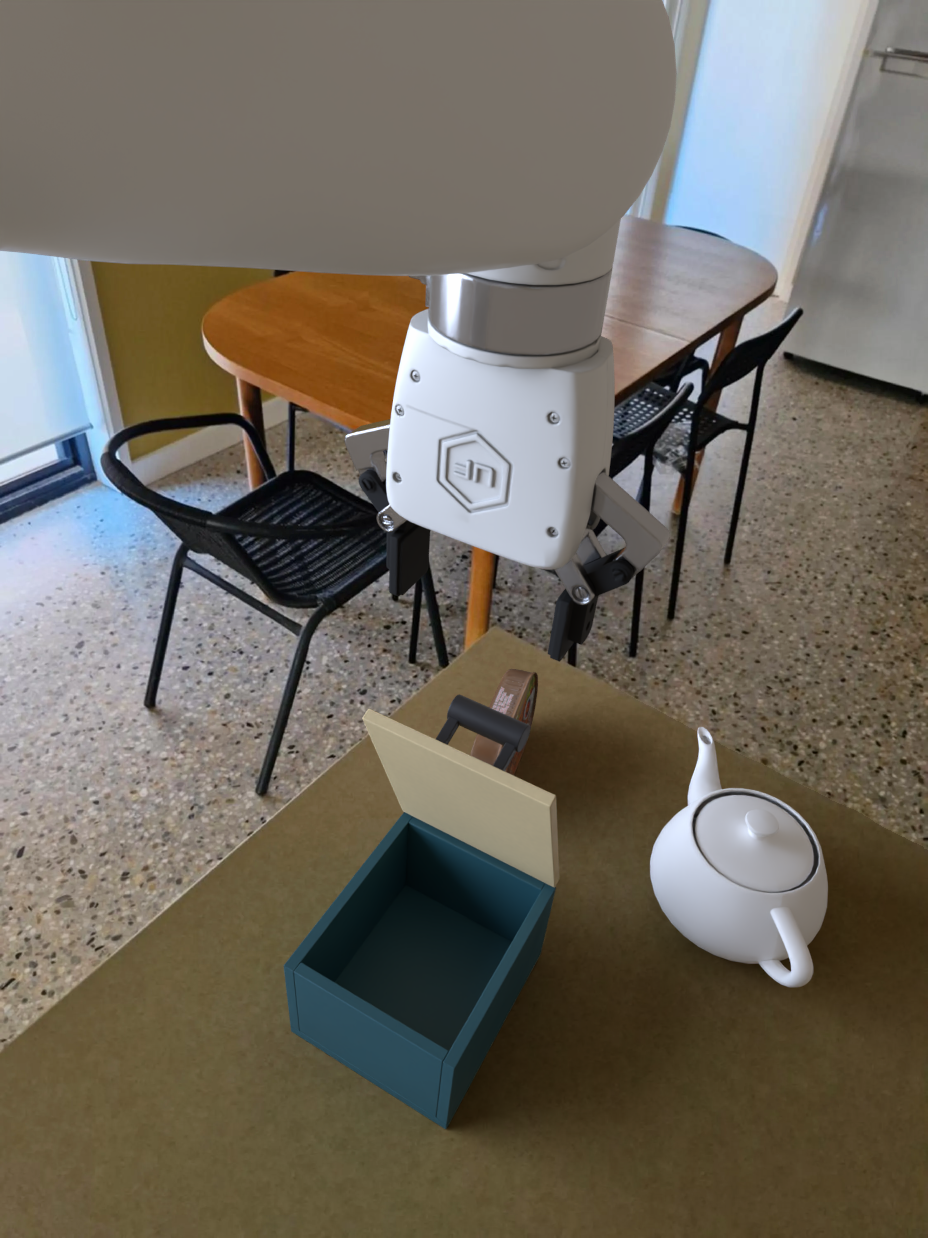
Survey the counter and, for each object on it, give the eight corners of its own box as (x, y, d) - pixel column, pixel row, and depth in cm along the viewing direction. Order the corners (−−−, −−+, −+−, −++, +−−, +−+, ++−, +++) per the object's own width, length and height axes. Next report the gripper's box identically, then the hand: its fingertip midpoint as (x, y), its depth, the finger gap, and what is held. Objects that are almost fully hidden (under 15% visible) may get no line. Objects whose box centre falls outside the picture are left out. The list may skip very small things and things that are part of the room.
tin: (490, 836, 76) (499, 771, 71) (455, 825, 77) (462, 760, 72) (536, 719, 87) (547, 656, 82) (505, 711, 88) (514, 647, 83)
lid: (550, 807, 49) (587, 733, 51) (361, 718, 54) (403, 653, 56) (554, 888, 62) (584, 826, 64) (402, 811, 66) (435, 755, 69)
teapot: (863, 1015, 66) (920, 936, 59) (689, 1036, 64) (727, 956, 57) (748, 785, 83) (782, 703, 76) (607, 795, 81) (629, 712, 74)
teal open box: (446, 1130, 58) (454, 1069, 52) (290, 1031, 62) (283, 965, 57) (541, 953, 68) (556, 887, 63) (401, 879, 72) (404, 810, 67)
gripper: (297, 278, 38) (313, 594, 49) (685, 384, 32) (605, 716, 43) (392, 237, 43) (387, 530, 54) (740, 322, 37) (656, 632, 48)
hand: (484, 613), depth 48 cm, fingers open, 9 cm apart
